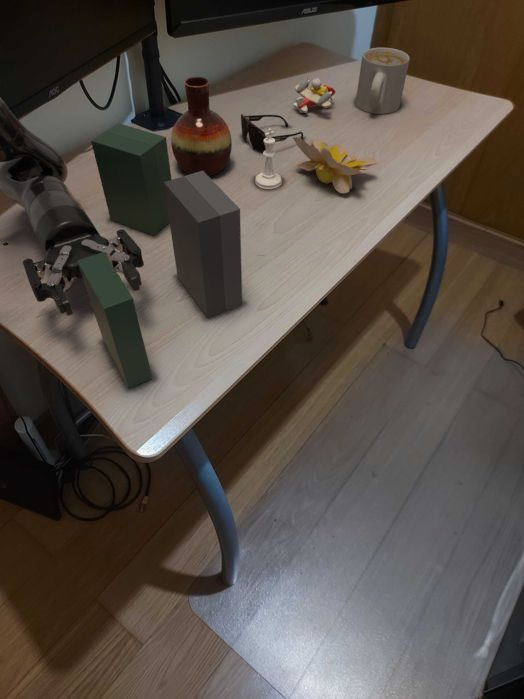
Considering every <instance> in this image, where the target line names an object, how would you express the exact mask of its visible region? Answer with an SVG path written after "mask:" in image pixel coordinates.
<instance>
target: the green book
mask: <svg viewBox="0 0 524 699" xmlns="http://www.w3.org/2000/svg"><path fill="white" fill-rule="evenodd" d="M77 262H78V265H79V268H80V271H81V274H82V280H83V284H84V286H85V289H86V293H87V295H88V299H89V301H90V304H91V307H92V311H93V313H94V316H95V318H96V322H97V325H98V329H99V332H100V336H101V337H102V340H103V344H104V346H105V347H106V349H107V351H108V353H109V355H110V357H111V358H112V361H113V362H114V364H115V366H116V368H117V369H118V373H119V374H120V375H121V377H122V379H123V381H124V383H125V385H126V387H127V389H132V388H134V387H136V386H138V385H141V384H143V383H146V382H148V381H150V380H152V379H153V375H152V371H151V366H150V362H149V359H148V356H147V355H148V354H147V350H146V346H145V343H144V338H143V334H142V330H141V325H140V322H139V317H138V314H137V309H136V305H135V301H134V297H133V296H132V294H131V292H130V291H129V290H128V287H127V286H126V285H125V283H124V282H123V279H122V278H121V276H120V275H119V272H116V270H115V269H114V267H113V265H112V264H111V262H110V261H109V259H108V257H107V256H106V254H105V253H104V252H102V253H99V254H95V255H92V256H89V257H86V258H83V259H80V260H77Z"/></svg>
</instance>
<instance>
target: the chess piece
mask: <svg viewBox="0 0 524 699" xmlns="http://www.w3.org/2000/svg"><path fill="white" fill-rule="evenodd" d="M264 133H265V136H266V137H267V138H265V139H264V144H265V148H266V150H265V151H264V152H262V155H263V156H264V157H265V164H264V170H263V171H262V172H260V173H258V174H256V176H255V179H254V182H255V185H256V186H257V187H259V188H261V189H264V190H274V189H276V188H279V187H280V186H281V185H282V184H283V180H282V176H281V175H280V174H279V173H277V172H274V167H273V157H274V156H275V155H276V152H275V150H273V149H274V146H275V143H276V142H275V139H274V138H271V137H272V136H274V135H275V131H274V130H272V128H271V127H269V128H267V132H264Z"/></svg>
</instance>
